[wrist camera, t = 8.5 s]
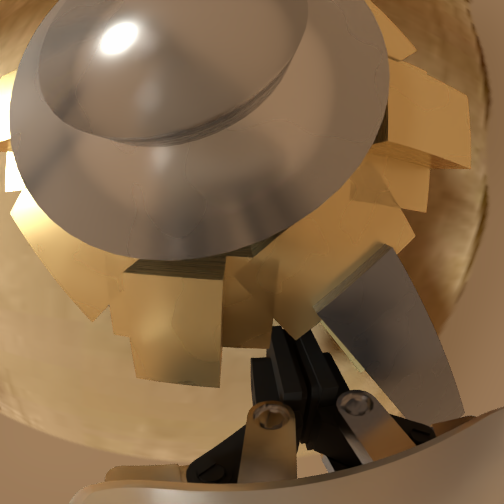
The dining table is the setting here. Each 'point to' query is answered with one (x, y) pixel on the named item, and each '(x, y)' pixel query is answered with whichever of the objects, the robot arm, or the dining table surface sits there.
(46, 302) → the dining table surface
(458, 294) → the dining table surface
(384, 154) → the ring nut
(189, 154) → the housing
